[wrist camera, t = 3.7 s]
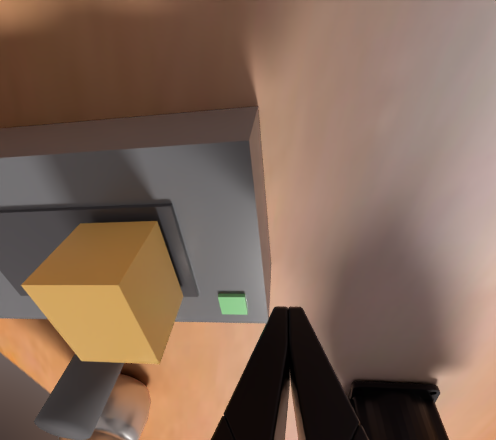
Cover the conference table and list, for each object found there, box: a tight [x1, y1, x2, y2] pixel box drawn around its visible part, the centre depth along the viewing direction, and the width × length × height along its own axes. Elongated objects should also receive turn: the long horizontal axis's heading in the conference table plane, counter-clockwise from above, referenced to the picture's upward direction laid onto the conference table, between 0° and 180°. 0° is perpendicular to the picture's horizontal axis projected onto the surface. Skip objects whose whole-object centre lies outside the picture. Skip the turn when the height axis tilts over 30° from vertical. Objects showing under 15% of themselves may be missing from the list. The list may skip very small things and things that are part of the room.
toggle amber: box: [21, 221, 183, 364], centre depth 10 cm, size 3×4×3 cm
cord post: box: [34, 354, 124, 440], centre depth 19 cm, size 3×3×7 cm
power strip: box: [0, 106, 271, 323], centre depth 14 cm, size 23×9×4 cm, turn 96°
